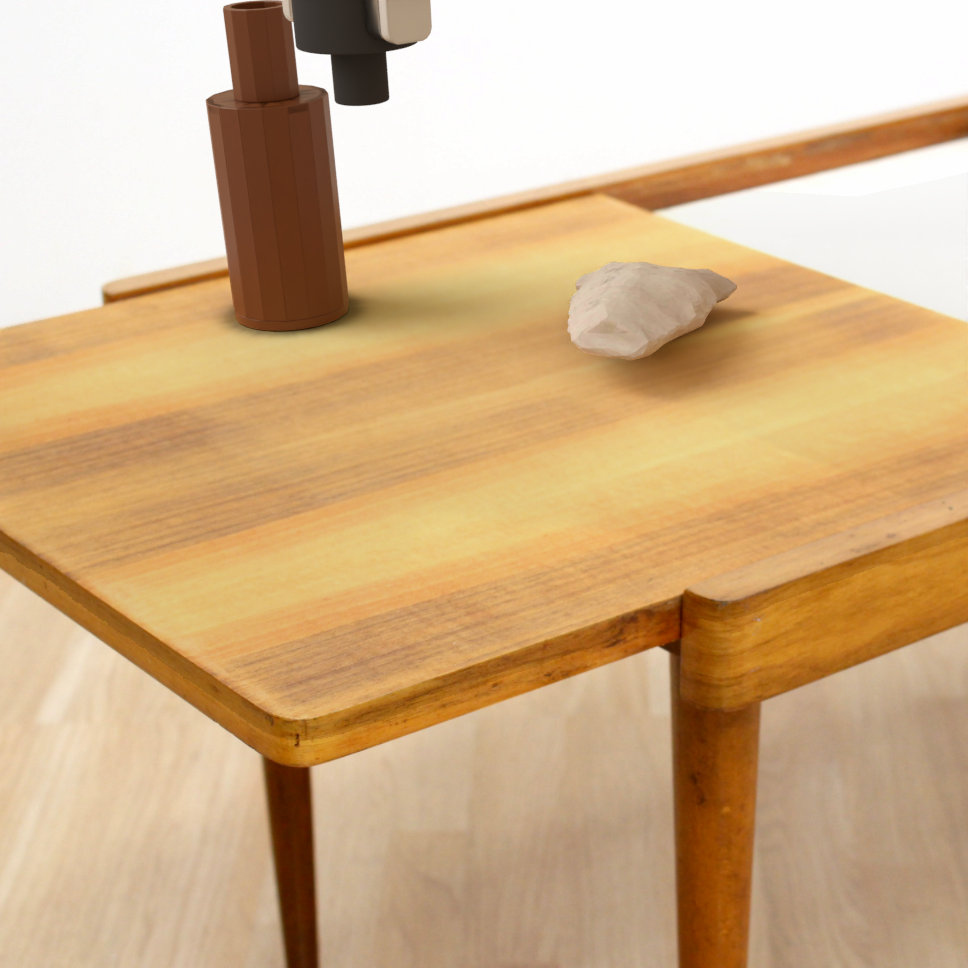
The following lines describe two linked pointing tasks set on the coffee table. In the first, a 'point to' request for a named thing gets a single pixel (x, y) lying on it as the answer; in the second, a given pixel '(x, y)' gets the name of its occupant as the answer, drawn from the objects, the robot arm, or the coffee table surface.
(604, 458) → the coffee table surface
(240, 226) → the bottle
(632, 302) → the decorative stone
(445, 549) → the coffee table surface
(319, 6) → the bung
